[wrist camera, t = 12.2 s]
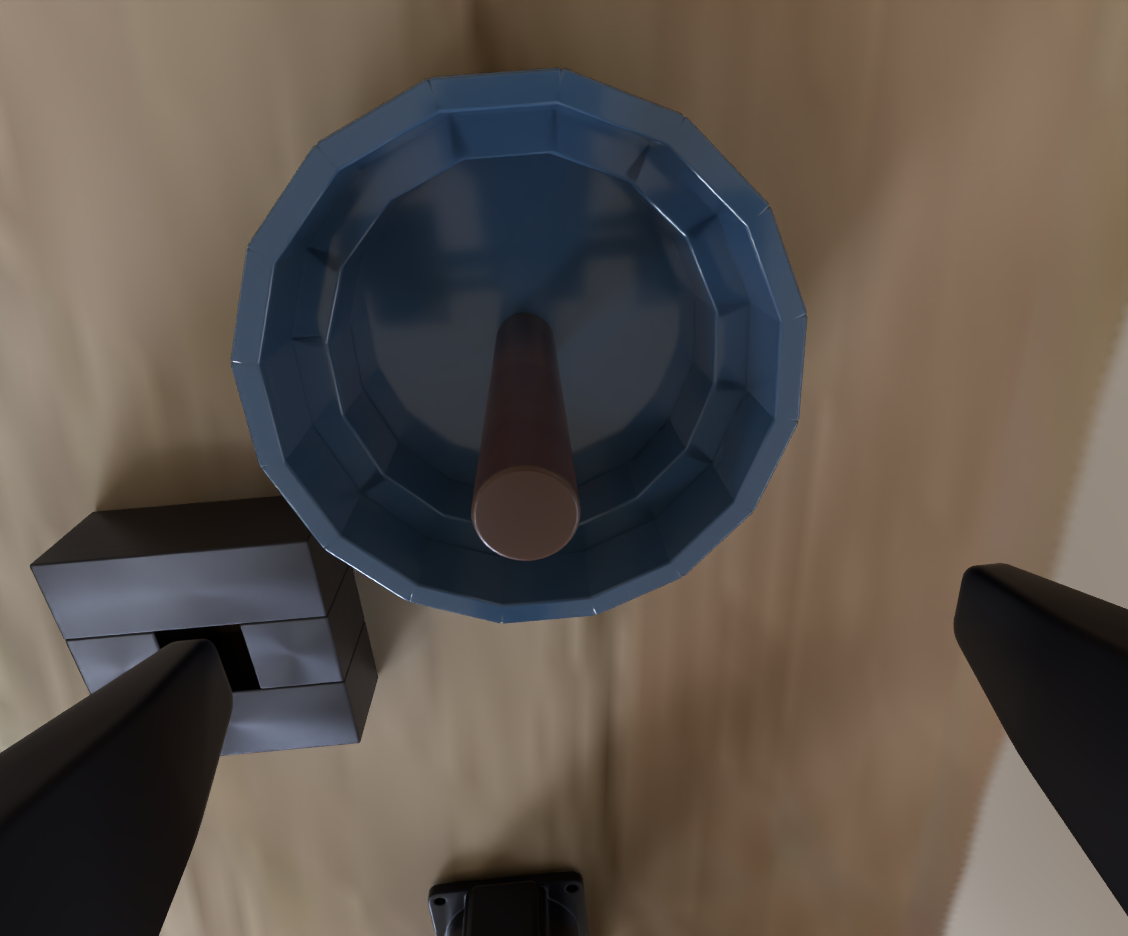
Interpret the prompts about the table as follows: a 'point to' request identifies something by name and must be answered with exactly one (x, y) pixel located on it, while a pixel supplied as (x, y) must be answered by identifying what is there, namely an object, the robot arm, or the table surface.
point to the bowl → (477, 310)
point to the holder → (221, 612)
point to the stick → (525, 448)
